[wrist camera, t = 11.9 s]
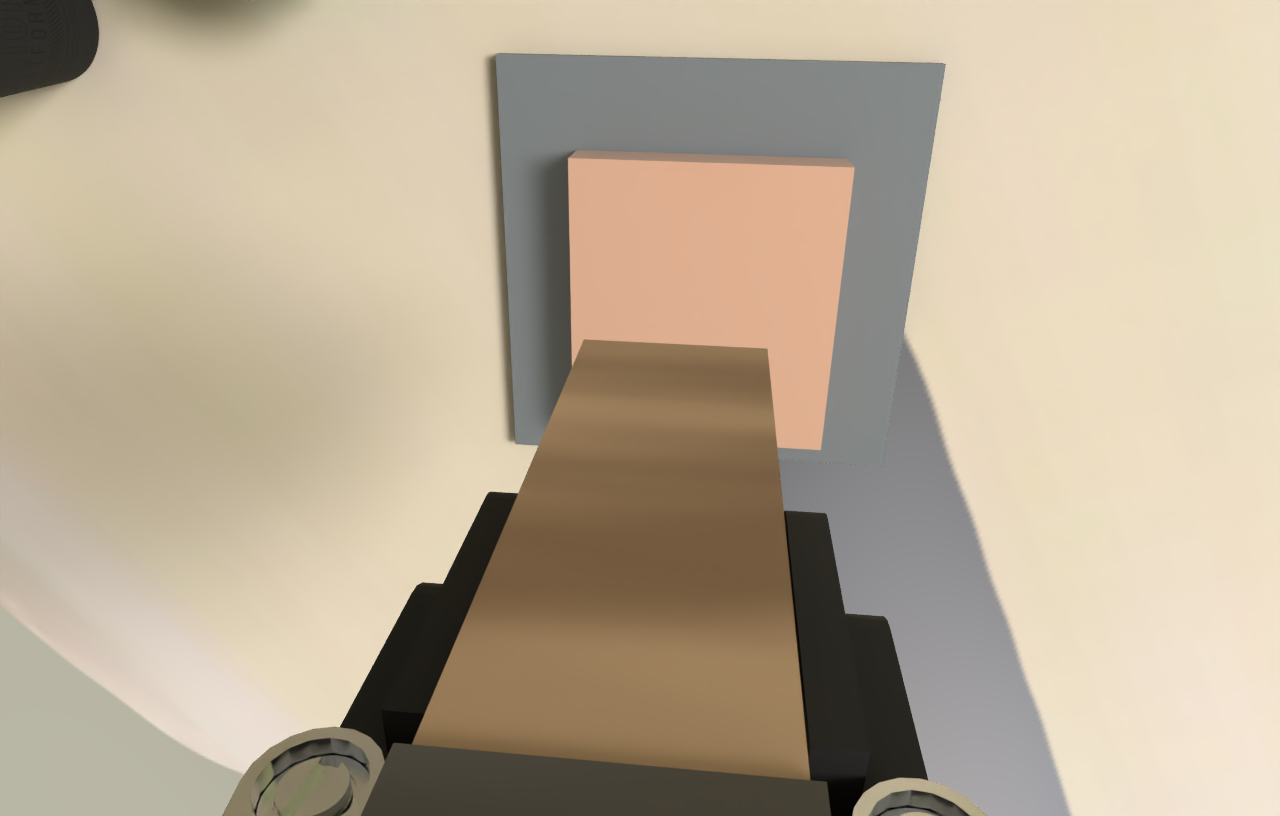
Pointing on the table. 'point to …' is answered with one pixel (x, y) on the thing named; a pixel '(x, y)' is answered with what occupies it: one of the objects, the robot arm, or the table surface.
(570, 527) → the banded brown box
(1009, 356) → the table surface
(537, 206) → the mat
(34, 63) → the drinking cup
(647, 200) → the tile
